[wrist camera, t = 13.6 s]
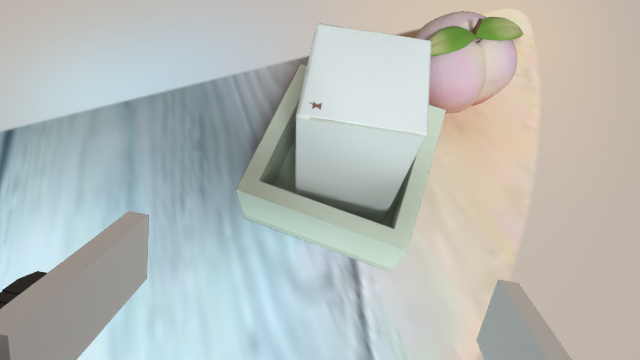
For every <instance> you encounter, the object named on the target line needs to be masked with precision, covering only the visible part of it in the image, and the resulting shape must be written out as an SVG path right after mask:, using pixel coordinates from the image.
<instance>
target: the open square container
mask: <svg viewBox="0 0 640 360" xmlns="http://www.w3.org/2000/svg"><path fill="white" fill-rule="evenodd" d="M306 68H307V66H306V65H302V64H300V66H299V68H298V70H297V72H296V74H295V76H294V78H293V80H292V82H291V84H290V86H289V88H288V90H287V91H286V93H285V95H284V97H283V99H282V101H281V103H280V105H279V107H278V109H277V111H276V113H275V115H274V117H273V119H272V121H271V122H270V124H269V126H268V128H267V130H266V132H265V134H264V136H263V138H262V140H261V142H260V144H259V146H258V148H257V150H256V152H255V153H254V155H253V157H252V159H251V161H250V163H249V165H248V167H247V169H246V171H245V173H244V175H243V177H242V179H241V181H240V183H239V184H238V186H237V188H236V191H237V195H238V198H239V201H240V205H241V208H242V211H243V214H244V218H245V219H247V220H250V221H253V222H256V223H258V224H261V225H264V226H266V227H269V228H272V229H274V230H277V231H280V232H283V233H285V234H288V235H291V236H293V237H296V238H299V239H302V240H304V241H307V242H310V243H312V244H315V245H318V246H320V247H323V248H326V249H329V250H331V251H334V252H337V253H339V254H342V255H345V256H348V257H350V258H353V259H356V260H358V261H361V262H364V263H366V264H369V265H372V266H375V267H377V268H380V269H383V270H385V271H388V272H391V271H392V269H393V268H394V267H395V266H396V264H397V263H398V262H399V261H400V260H401V258H402V257H403V256H404V255H405V253H406V252H407V250H408V246H409V243H410V239H411V235H412V232H413V228H414V224H415V221H416V217H417V214H418V210H419V206H420V203H421V199H422V196H423V192H424V188H425V185H426V181H427V177H428V174H429V170H430V167H431V163H432V159H433V156H434V152H435V148H436V145H437V141H438V138H439V134H440V130H441V127H442V123H443V119H444V116H445V112H446V110H444V109H441V108H438V107H435V106H431V105H429V112H428V129H427V136H426V137H425V139H424V141H423V143H422V145H421V147H420V149H419V151H418V153H417V155H416V157H415V159H414V160H413V162H412V164H411V166H410V168H409V170H408V172H407V174H406V176H405V178H404V180H403V182H402V184H401V186H400V188H399V190H398V192H397V194H396V196H395V198H394V200H393V202H392V204H391V206H390V208H389V210H388V212H387V214H386V216H385V218H384V220H383V221H374V220H367V219H364V218H362V217H359V216H356V215H353V214H350V213H348V212H345V211H342V210H339V209H336V208H334V207H331V206H328V205H325V204H322V203H320V202H317V201H314V200H311V199H308V198H305V197H303V196H300V195H297V194H295V164H296V113H297V109H298V105H299V100H300V96H301V92H302V87H303V83H304V79H305V72H306Z"/></svg>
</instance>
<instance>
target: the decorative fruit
mask: <svg viewBox="0 0 640 360" xmlns="http://www.w3.org/2000/svg"><path fill="white" fill-rule="evenodd" d="M522 35H523V33H522V30H521V29H520V28H519V27H518V26H517V25H516V24H515V23H513V22H512V21H510V20H507V19H505V18H499V17H489V18H487V17H485V16H483V15H480V14H477V13H474V12H464V11H461V12H454V13H451V14H447V15H444V16H441V17H439V18H436V19H435V20H433V21H431V22H429V23H428V24H426V25H425V26H424V27H423V28H422V29H421V30H420V31H419V32H418V33H417V34H416V36H415V37H414V38H417V39H423V40H429V41H431V62H430V88H429V105H431V106H435V107H438V108H441V109H444V110H446V112H445V113H456V112H460V111H463V110H466V109H467V108H469V107H470V106H473V105H477V104H480V103H482V102H484V101H486V100H488V99H489V98H491V97H493V96H494V95H495V94H497V93H498V92H500V91H501V90H502V89H503V88H504V87H505V86H506V85H507V84H508V83H509V82H510V81H511V79H512V78H513V76H514V73H515V70H516V66H517V53H516V48H515V45H514V42H513V40H512V39H516V38H519V37H521V36H522Z"/></svg>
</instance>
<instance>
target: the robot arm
mask: <svg viewBox="0 0 640 360" xmlns="http://www.w3.org/2000/svg"><path fill="white" fill-rule="evenodd" d="M148 229H149V215H146V214H140V213H135V212H127V213H126V214H125V215H123V216H122V217H121V218H120V219H118V220H117V221H116V222H114V223H113V224H112V225H110V226H109V227H108V228H106V229H105V230H104V231H102V232H101V233H100V234H98V235H97V236H96V237H95V238H93V239H92V240H91V241H89V242H88V243H87V244H85V245H84V246H83V247H81V248H80V249H79V250H77V251H76V252H75V253H74V254H72V255H71V256H70V257H68V258H67V259H66V260H64V261H63V262H62V263H60V264H59V265H58V266H56V267H55V268H54V269H52V270H51V271H50V272H49V273H45V272H39V271H37V272H34V273H32V274H29V275H27V276H24V277H22V278H20V279H17V280H16V281H15V282H13V283H12V284H10V285H9V286H7V287H6V288H5V289H3V290H2V292H0V360H77V359H78V357H79V356H80V355H81V354H82V353H83V352H84V350H85V349H86V348H87V347H88V346H89V345H90V344H91V342H92V341H93V340H94V339H95V338H96V337H97V335H98V334H99V333H100V332H101V331H102V330H103V329H104V327H105V326H106V325H107V324H108V323H109V322H110V320H111V319H112V318H113V317H114V316H115V315H116V313H117V312H118V311H119V310H120V309H121V308H122V307H123V305H124V304H125V303H126V302H127V301H128V300H129V298H130V297H131V296H132V295H133V294H134V293H135V292H136V290H137V289H138V288H139V287H140V286H141V285H142V283H143V282H144V281H145V280H146V279H147V259H148ZM477 343H478V345H479V347H480V350H481V352H482V354H483V357H484V359H485V360H572V359H571V358H570V356H569V355H568V353H567V352H566V351H565V349H564V348H563V346H562V345H561V343H560V342H559V340H558V339H557V338H556V336H555V335H554V333H553V332H552V331H551V329H550V328H549V326H548V325H547V323H546V322H545V320H544V319H543V318H542V316H541V315H540V313H539V312H538V311H537V309H536V307H535V306H534V305H533V303H532V302H531V300H530V299H529V298H528V296H527V295H526V293H525V292H524V290H523V289H522V287H521V286H520V285H519V284H518V283H514V282H508V281H503V280H498V281H497V284H496V287H495V290H494V293H493V295H492V298H491V301H490V304H489V306H488V309H487V312H486V315H485V318H484V320H483V323H482V326H481V329H480V332H479V334H478V337H477Z"/></svg>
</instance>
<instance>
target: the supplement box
mask: <svg viewBox="0 0 640 360" xmlns="http://www.w3.org/2000/svg"><path fill="white" fill-rule="evenodd" d="M430 62H431V41H429V40H423V39H417V38H410V37H404V36H397V35H390V34H384V33H378V32H370V31H364V30H356V29H350V28H343V27H338V26H332V25H326V24H321V23H319V24H317V26H316V29H315V34H314V38H313V43H312V47H311V52H310V56H309V60H308V65H307V68H306V72H305V79H304V83H303V87H302V92H301V96H300V100H299V105H298V109H297V113H296V164H295V194H297V195H300V196H303V197H305V198H308V199H311V200H314V201H317V202H320V203H322V204H325V205H328V206H331V207H334V208H336V209H339V210H342V211H345V212H348V213H350V214H353V215H356V216H359V217H362V218H364V219H367V220H374V221H383V220H384V218H385V216H386V214H387V212H388V210H389V208H390V206H391V204H392V202H393V200H394V198H395V196H396V194H397V192H398V190H399V188H400V186H401V184H402V182H403V180H404V178H405V176H406V174H407V172H408V170H409V168H410V166H411V164H412V162H413V160H414V159H415V157H416V155H417V153H418V151H419V149H420V147H421V145H422V143H423V141H424V139H425V137H426V136H427V129H428V112H429V88H430Z"/></svg>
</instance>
